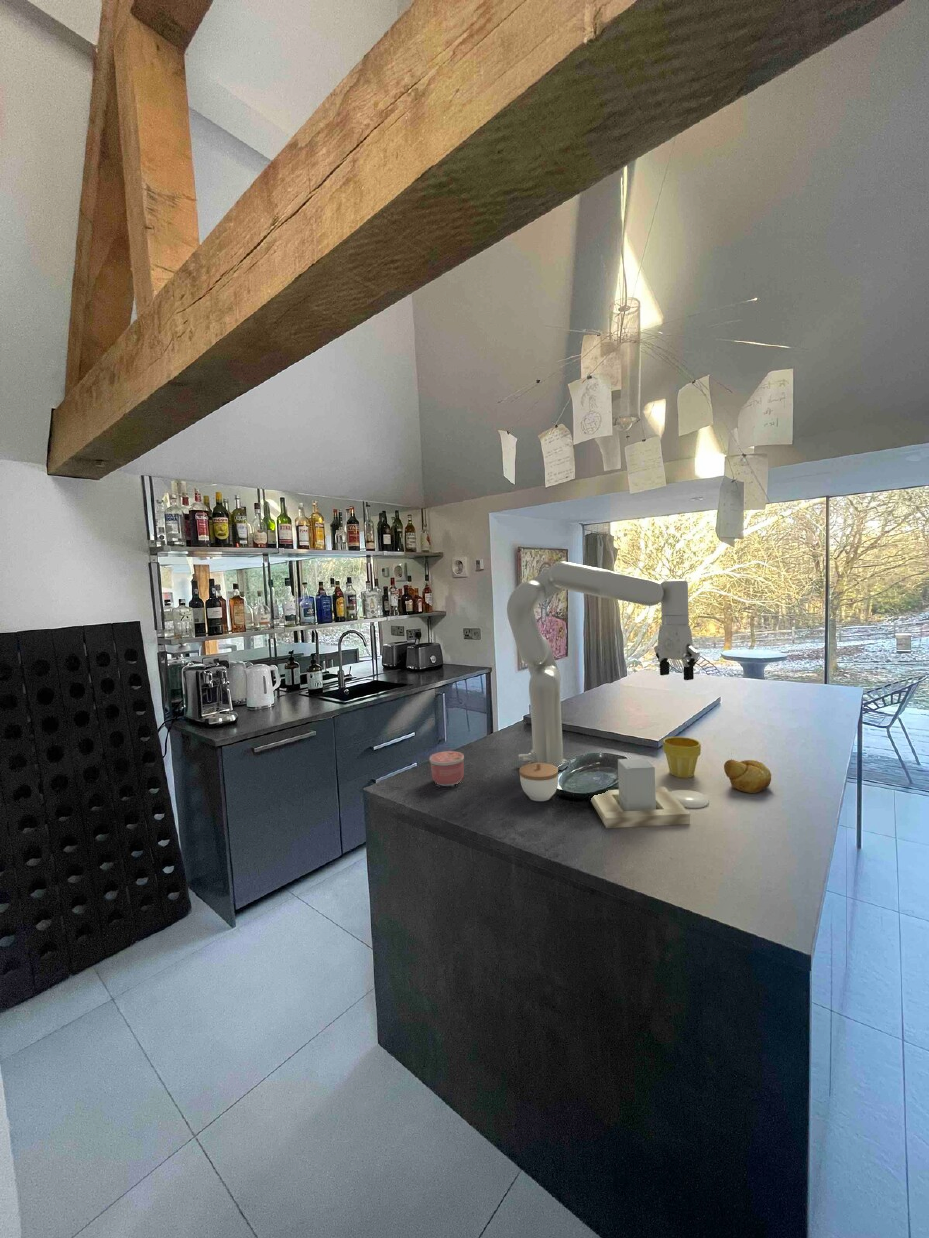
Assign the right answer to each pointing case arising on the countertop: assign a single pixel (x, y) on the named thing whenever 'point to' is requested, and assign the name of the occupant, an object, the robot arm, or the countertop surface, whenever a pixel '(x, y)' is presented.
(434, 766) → the container
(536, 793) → the lidded jar
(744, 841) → the countertop surface
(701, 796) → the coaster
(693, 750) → the plant pot
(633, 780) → the supplement box
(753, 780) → the bread roll
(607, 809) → the board
